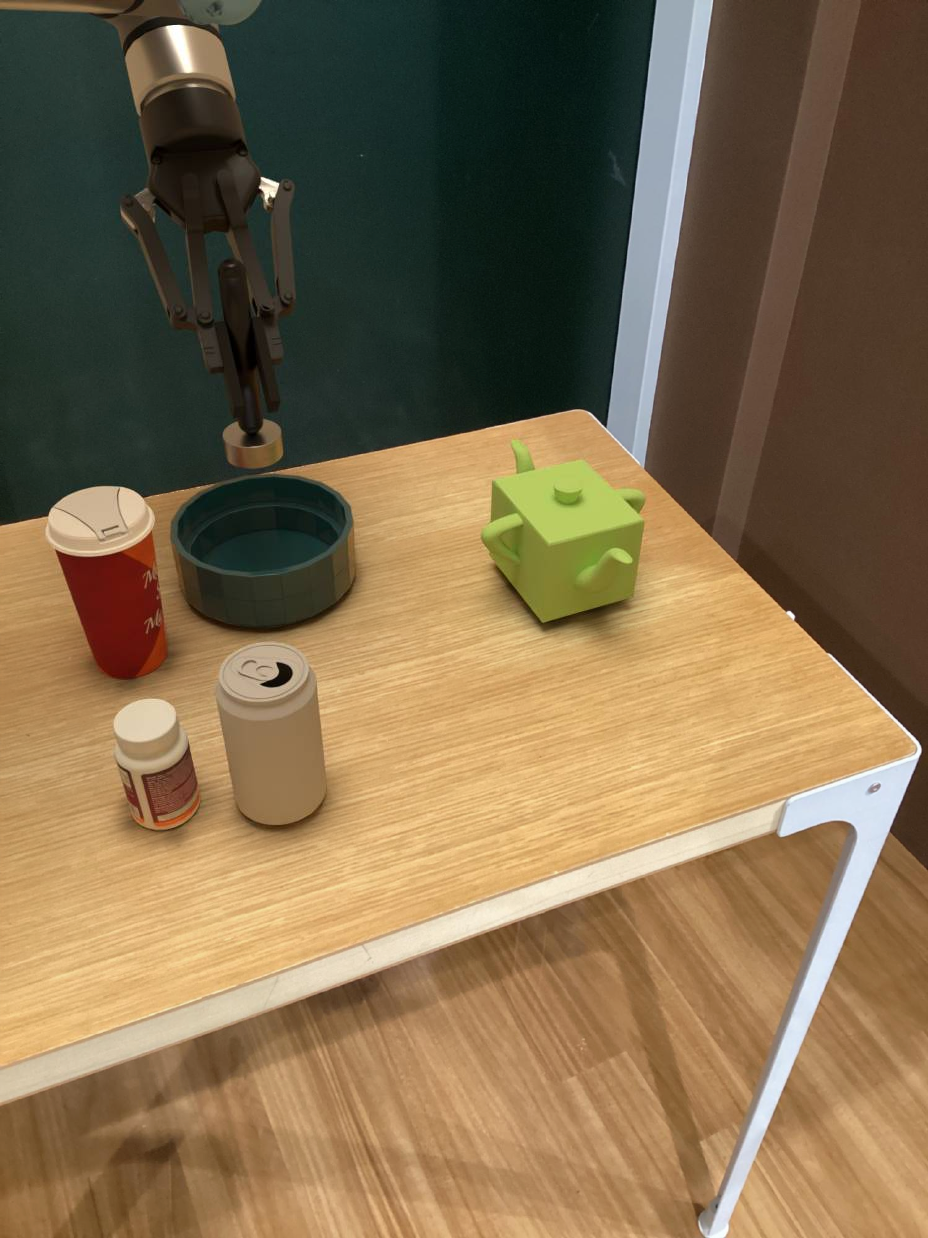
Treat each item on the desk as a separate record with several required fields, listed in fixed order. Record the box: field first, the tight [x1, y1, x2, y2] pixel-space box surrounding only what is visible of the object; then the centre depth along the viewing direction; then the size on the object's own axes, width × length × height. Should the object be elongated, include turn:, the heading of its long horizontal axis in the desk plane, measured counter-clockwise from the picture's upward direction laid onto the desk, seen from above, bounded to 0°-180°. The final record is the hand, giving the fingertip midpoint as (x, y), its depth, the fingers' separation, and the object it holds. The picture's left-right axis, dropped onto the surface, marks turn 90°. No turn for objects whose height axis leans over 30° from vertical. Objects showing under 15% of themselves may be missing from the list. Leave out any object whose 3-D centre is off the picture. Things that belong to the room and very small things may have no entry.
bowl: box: [169, 472, 357, 629], centre depth 92 cm, size 15×15×6 cm
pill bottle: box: [112, 698, 201, 831], centre depth 71 cm, size 5×5×8 cm
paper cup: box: [44, 485, 168, 680], centre depth 81 cm, size 8×8×14 cm
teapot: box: [480, 439, 646, 623], centre depth 91 cm, size 15×13×11 cm
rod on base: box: [217, 257, 284, 470], centre depth 81 cm, size 5×5×16 cm
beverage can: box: [214, 641, 328, 826], centre depth 71 cm, size 6×6×12 cm
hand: (256, 408), depth 79 cm, fingers closed on rod on base, 2 cm apart
